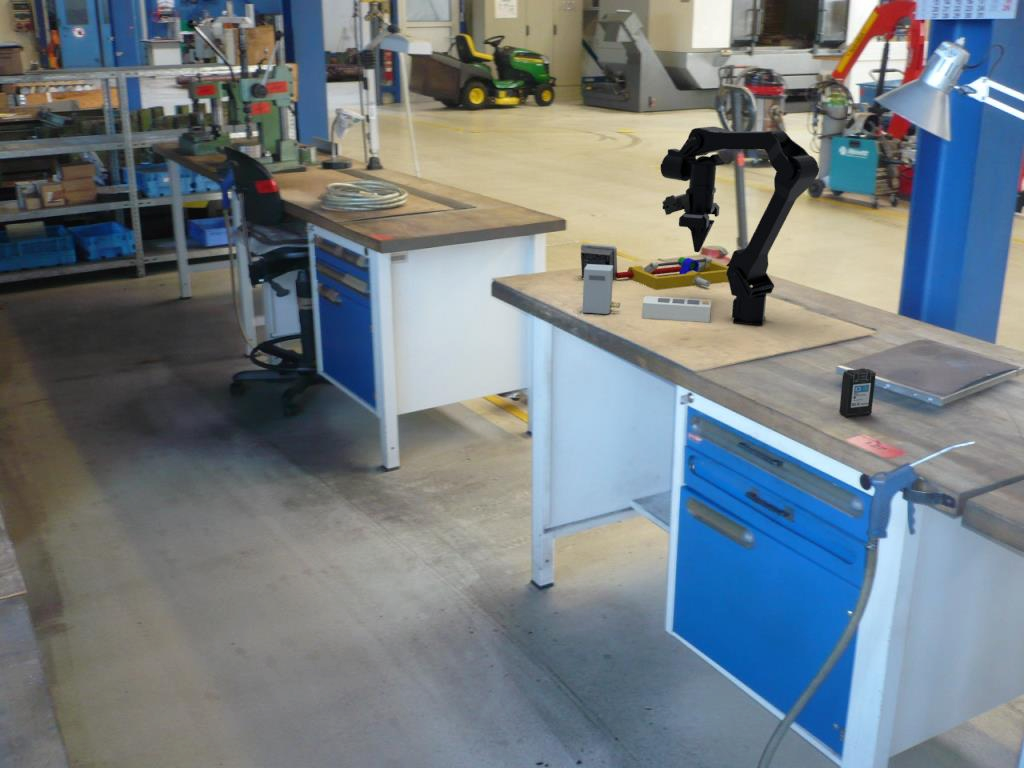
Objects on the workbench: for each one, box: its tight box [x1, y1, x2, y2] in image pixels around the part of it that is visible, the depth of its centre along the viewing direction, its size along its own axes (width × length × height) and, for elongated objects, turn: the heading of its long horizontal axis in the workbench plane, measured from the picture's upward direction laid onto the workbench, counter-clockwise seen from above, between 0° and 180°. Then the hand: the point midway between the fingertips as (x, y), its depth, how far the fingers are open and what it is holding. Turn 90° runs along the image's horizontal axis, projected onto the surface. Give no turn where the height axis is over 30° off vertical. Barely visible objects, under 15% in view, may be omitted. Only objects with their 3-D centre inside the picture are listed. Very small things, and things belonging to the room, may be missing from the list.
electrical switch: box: [580, 242, 618, 280], centre depth 273 cm, size 9×5×9 cm, turn 70°
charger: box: [582, 264, 622, 315], centre depth 243 cm, size 8×6×10 cm
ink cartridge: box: [839, 368, 877, 419], centre depth 183 cm, size 5×2×8 cm, turn 105°
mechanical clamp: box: [615, 256, 729, 291], centre depth 272 cm, size 18×6×30 cm
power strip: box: [641, 295, 712, 323], centre depth 246 cm, size 15×17×4 cm
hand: (697, 251), depth 246 cm, fingers closed
